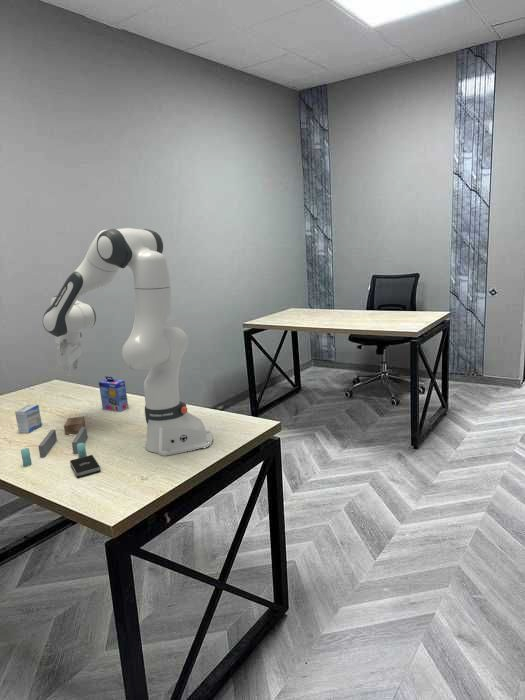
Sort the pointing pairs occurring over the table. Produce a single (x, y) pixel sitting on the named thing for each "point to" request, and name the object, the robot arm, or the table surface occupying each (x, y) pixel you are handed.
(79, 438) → the channel walls
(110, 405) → the ink cartridge box
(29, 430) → the medicine box
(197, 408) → the table surface
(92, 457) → the external hard drive
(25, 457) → the posts
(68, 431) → the walnut block
